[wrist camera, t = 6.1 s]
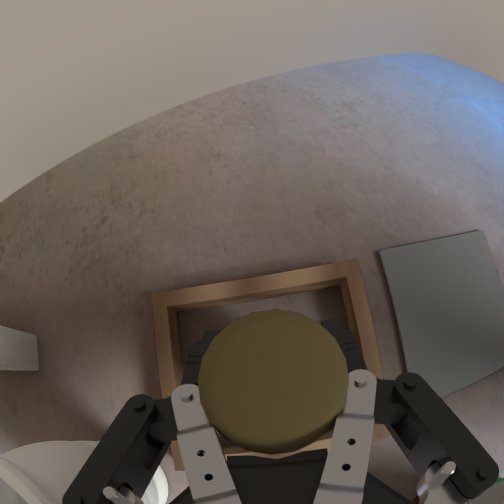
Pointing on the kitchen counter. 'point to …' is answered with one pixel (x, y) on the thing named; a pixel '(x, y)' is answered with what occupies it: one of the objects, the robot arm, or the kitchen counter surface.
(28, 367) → the white tea box
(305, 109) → the kitchen counter surface
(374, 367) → the frame
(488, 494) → the food container
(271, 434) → the olive pawn figure
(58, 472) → the jar
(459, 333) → the mat
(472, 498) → the robot arm
